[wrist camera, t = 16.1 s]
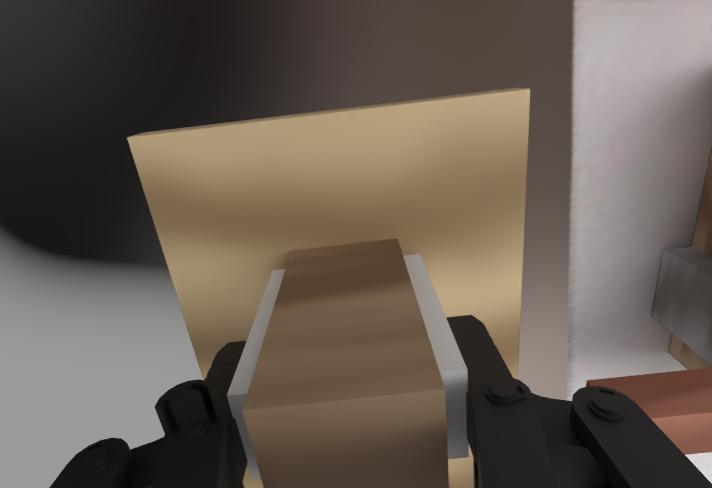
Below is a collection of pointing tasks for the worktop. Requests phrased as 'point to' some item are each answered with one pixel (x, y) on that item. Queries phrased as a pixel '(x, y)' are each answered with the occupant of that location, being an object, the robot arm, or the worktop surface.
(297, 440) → the wooden block with peg
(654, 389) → the reddish brown rectangular block
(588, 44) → the worktop surface
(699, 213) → the brown wooden box
